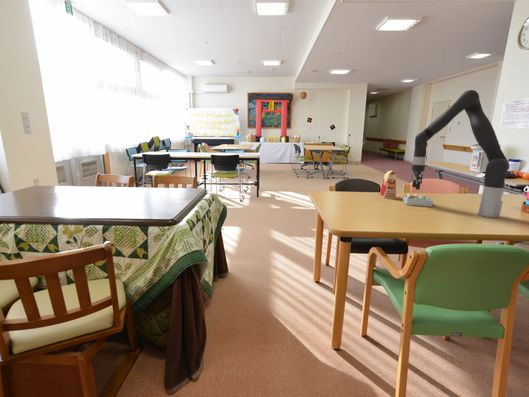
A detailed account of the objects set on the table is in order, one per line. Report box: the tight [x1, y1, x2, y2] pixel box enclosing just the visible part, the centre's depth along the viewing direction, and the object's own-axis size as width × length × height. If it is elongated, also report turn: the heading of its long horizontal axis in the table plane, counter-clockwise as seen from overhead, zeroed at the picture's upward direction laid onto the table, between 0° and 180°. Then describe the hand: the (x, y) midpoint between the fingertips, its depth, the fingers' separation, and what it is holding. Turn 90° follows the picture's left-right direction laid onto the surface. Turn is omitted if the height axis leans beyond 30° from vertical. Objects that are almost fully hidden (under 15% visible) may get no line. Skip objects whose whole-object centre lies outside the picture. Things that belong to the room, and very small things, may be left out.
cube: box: [406, 193, 418, 199], centre depth 196 cm, size 5×5×5 cm
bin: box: [401, 194, 434, 208], centre depth 195 cm, size 15×13×4 cm
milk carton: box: [379, 170, 397, 200], centre depth 210 cm, size 9×9×20 cm
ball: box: [418, 195, 426, 200], centre depth 194 cm, size 5×5×5 cm
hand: (415, 188), depth 194 cm, fingers open, 8 cm apart
